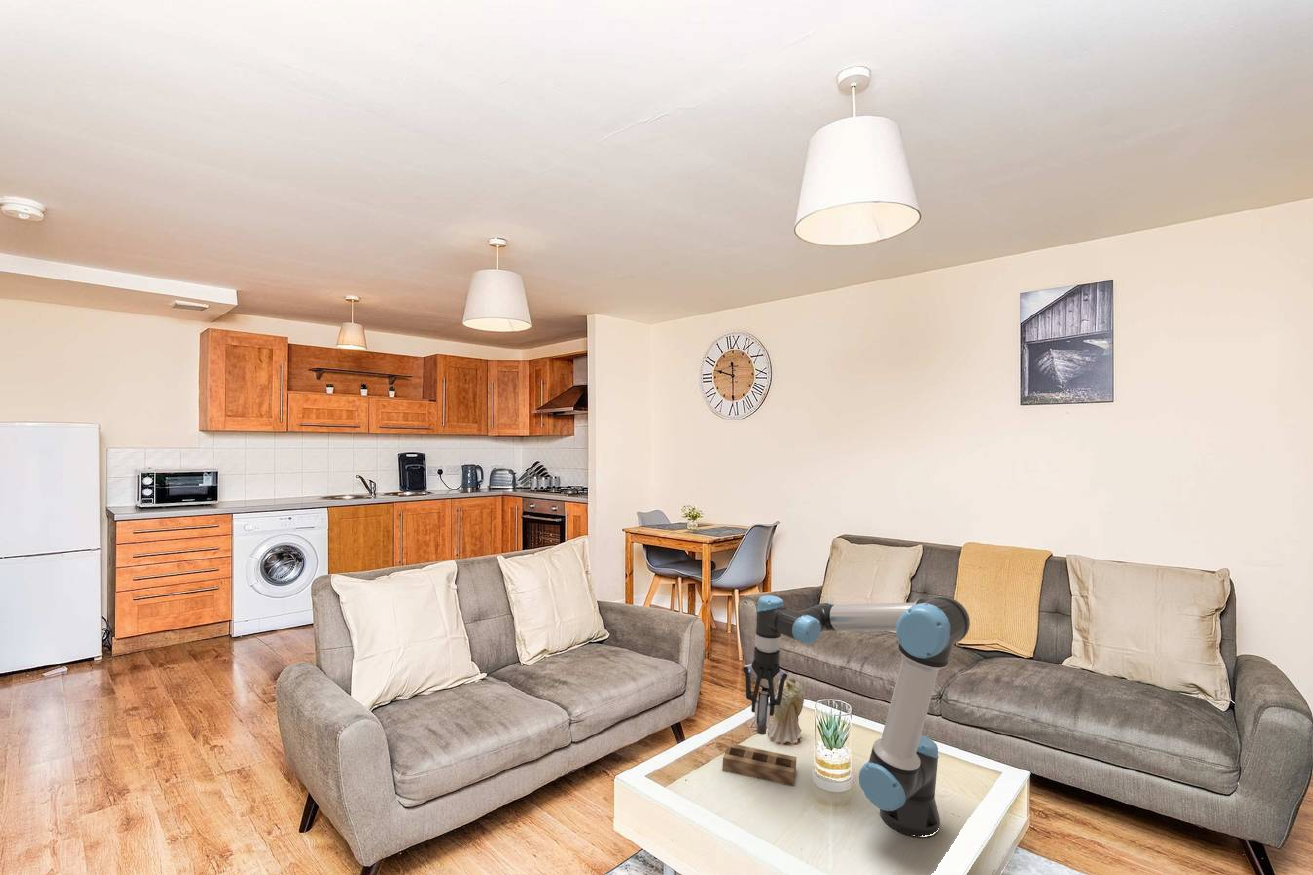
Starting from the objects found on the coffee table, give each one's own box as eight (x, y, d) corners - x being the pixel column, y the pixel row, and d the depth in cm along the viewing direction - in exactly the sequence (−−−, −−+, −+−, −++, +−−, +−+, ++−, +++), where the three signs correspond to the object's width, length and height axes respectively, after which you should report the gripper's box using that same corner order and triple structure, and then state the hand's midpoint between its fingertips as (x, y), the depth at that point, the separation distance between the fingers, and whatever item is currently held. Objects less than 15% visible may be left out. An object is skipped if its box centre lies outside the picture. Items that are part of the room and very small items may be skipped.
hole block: (795, 769, 197) (796, 757, 196) (792, 785, 188) (793, 772, 188) (727, 755, 203) (728, 742, 203) (722, 770, 194) (723, 757, 194)
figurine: (769, 725, 224) (773, 668, 222) (803, 732, 220) (807, 675, 219) (763, 741, 212) (767, 682, 211) (799, 749, 208) (804, 689, 207)
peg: (766, 730, 196) (769, 692, 195) (765, 735, 193) (768, 696, 192) (757, 728, 197) (759, 690, 196) (755, 733, 194) (758, 694, 193)
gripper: (795, 648, 195) (789, 723, 196) (742, 639, 199) (737, 713, 201) (793, 657, 187) (787, 735, 189) (738, 647, 192) (733, 724, 194)
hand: (761, 723), depth 195 cm, fingers closed on peg, 3 cm apart
